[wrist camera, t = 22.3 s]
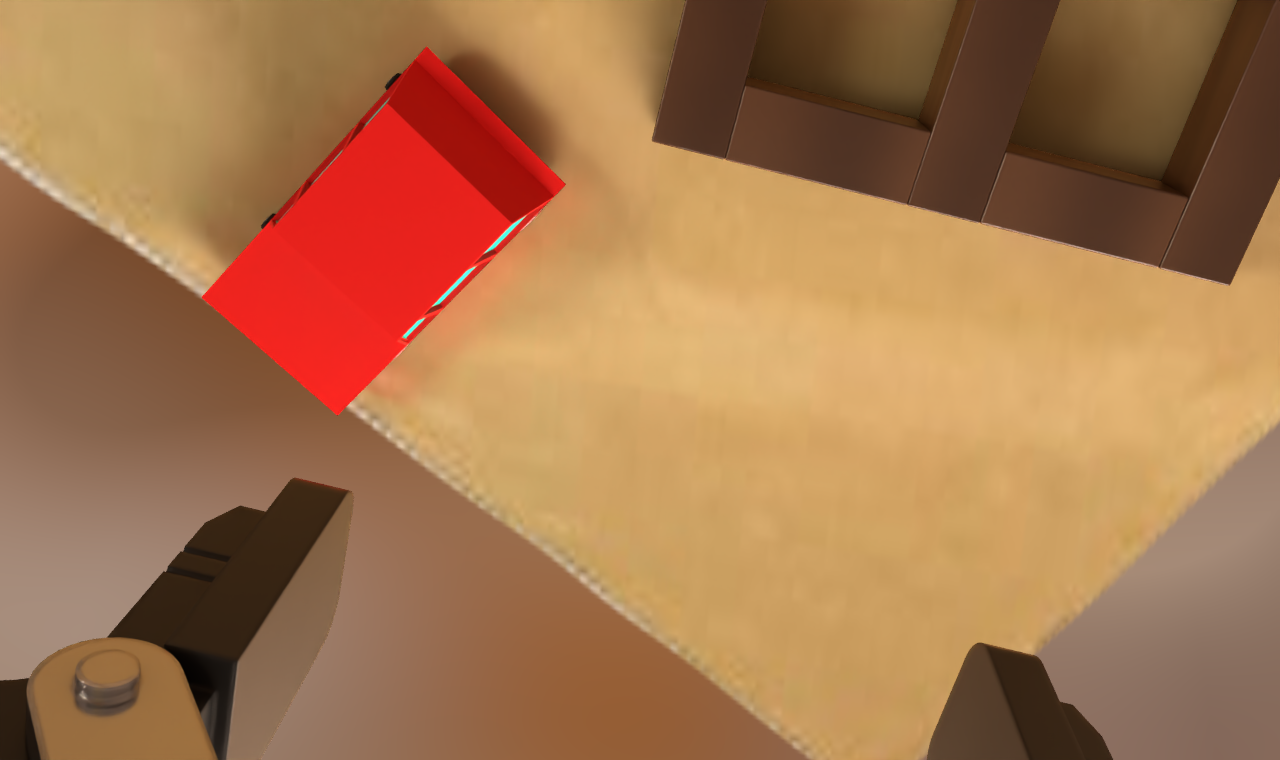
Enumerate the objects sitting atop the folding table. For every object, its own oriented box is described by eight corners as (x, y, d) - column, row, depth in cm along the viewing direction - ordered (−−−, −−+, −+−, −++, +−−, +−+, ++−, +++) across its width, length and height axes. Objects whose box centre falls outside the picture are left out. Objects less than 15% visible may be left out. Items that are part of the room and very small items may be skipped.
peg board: (655, 128, 38) (651, 141, 35) (739, -224, 34) (741, -236, 31) (1198, 265, 38) (1230, 286, 36) (1347, -66, 34) (1393, -65, 32)
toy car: (216, 278, 41) (165, 313, 37) (430, 36, 37) (399, 48, 33) (353, 398, 42) (317, 444, 38) (572, 177, 38) (557, 204, 35)
